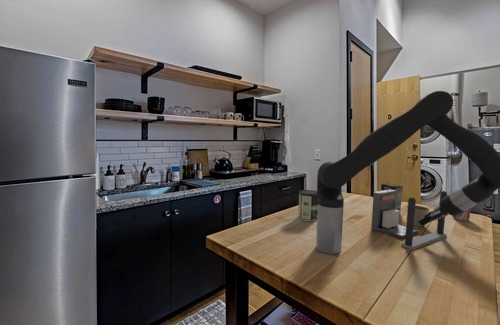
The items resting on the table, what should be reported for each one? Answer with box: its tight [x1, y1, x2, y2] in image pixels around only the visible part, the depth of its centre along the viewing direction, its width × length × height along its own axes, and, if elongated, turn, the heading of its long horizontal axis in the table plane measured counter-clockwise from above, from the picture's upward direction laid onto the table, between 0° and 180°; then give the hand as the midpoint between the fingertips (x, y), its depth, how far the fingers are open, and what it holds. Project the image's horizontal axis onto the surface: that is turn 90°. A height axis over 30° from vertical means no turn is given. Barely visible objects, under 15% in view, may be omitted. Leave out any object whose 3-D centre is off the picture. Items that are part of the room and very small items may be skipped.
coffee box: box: [380, 183, 403, 215], centre depth 145 cm, size 9×6×16 cm
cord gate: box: [400, 190, 448, 251], centre depth 105 cm, size 4×27×20 cm, turn 120°
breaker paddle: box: [382, 209, 400, 228], centre depth 118 cm, size 3×8×7 cm, turn 120°
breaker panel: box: [371, 190, 419, 240], centre depth 116 cm, size 14×13×18 cm
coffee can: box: [298, 189, 318, 222], centre depth 133 cm, size 10×10×14 cm
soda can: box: [451, 208, 472, 222], centre depth 135 cm, size 7×7×13 cm
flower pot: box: [406, 204, 430, 228], centre depth 126 cm, size 9×9×9 cm
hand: (420, 223), depth 107 cm, fingers closed
